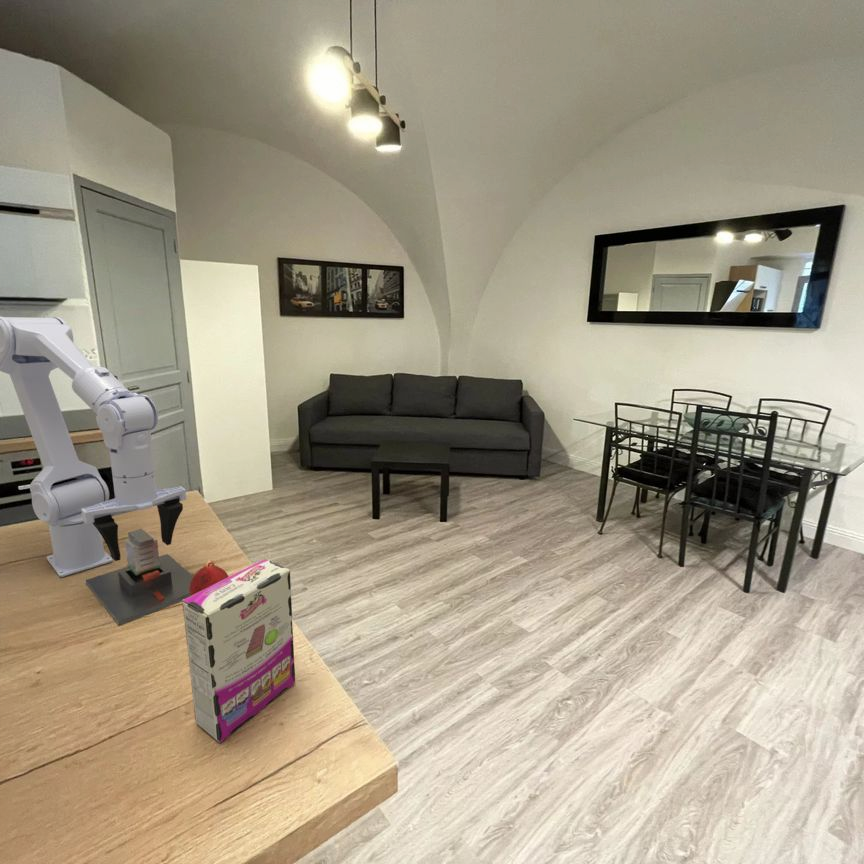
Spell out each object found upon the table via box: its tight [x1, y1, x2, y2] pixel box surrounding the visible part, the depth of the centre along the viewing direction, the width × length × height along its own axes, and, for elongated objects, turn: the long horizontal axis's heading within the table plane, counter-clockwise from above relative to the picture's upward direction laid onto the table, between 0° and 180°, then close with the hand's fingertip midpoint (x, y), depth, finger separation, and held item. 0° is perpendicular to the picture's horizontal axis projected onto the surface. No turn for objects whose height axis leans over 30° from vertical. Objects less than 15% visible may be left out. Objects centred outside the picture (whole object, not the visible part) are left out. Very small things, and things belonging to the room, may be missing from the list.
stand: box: [85, 553, 194, 626], centre depth 81 cm, size 16×13×4 cm
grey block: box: [124, 528, 161, 575], centre depth 79 cm, size 5×4×6 cm
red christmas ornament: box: [190, 560, 229, 596], centre depth 76 cm, size 6×6×8 cm
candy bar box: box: [181, 558, 296, 744], centre depth 56 cm, size 11×5×16 cm, turn 148°
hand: (142, 550), depth 79 cm, fingers open, 7 cm apart
